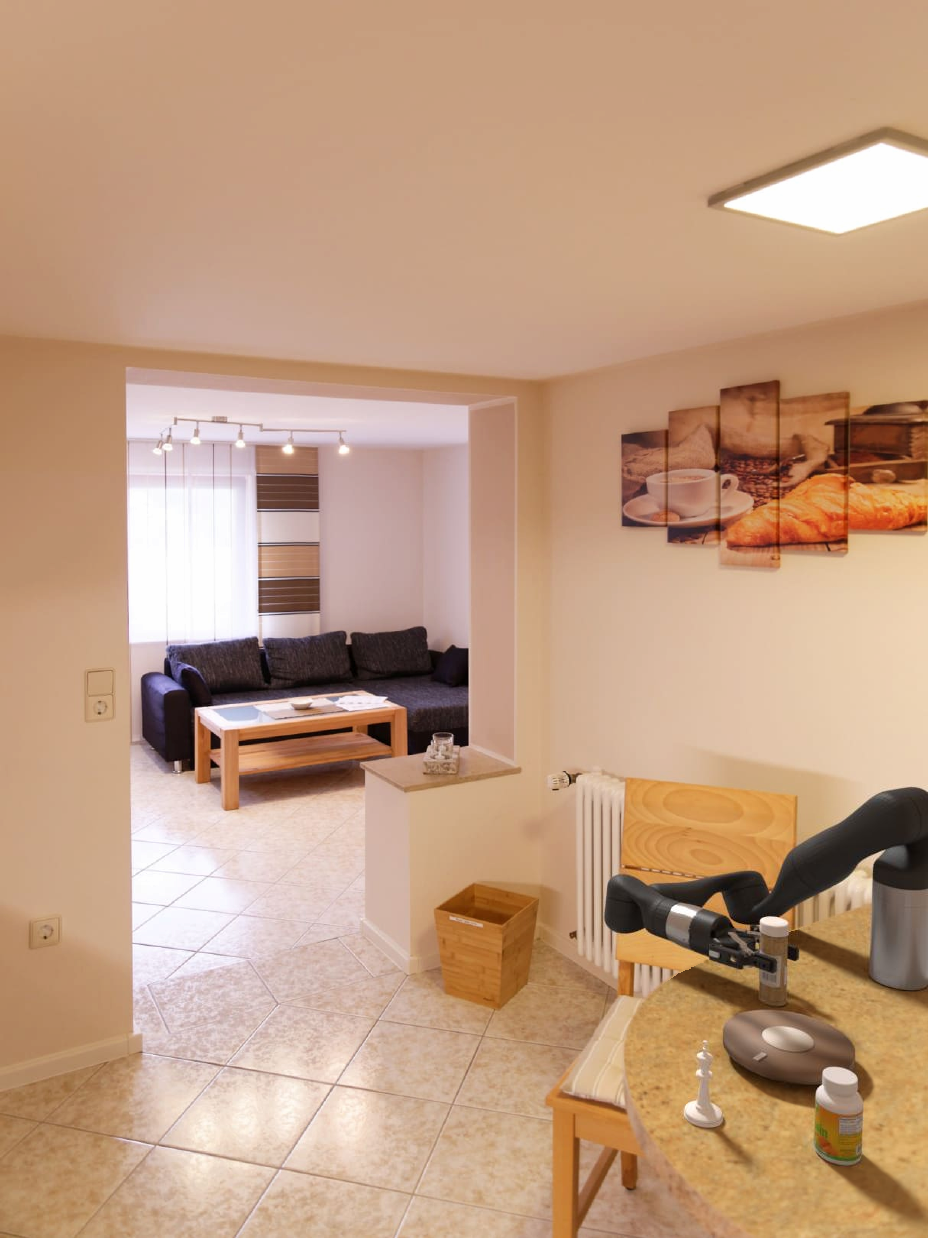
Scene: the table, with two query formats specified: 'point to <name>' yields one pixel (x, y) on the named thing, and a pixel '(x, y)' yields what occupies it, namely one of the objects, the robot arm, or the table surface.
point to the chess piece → (703, 1096)
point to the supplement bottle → (838, 1117)
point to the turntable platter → (786, 1045)
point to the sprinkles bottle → (776, 947)
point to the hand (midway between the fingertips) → (786, 961)
